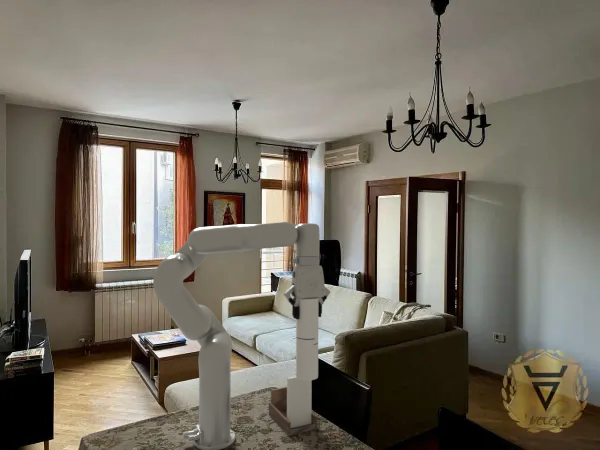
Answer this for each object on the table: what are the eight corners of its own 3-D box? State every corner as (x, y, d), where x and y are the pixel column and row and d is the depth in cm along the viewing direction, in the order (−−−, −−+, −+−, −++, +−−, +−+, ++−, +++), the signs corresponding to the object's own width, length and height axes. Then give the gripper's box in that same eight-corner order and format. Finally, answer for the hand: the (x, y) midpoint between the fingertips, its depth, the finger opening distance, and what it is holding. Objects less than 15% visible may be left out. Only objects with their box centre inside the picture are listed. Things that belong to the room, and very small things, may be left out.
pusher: (288, 428, 129) (288, 378, 130) (286, 427, 130) (287, 377, 131) (311, 423, 133) (311, 374, 133) (309, 422, 134) (309, 373, 134)
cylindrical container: (292, 374, 129) (292, 296, 130) (311, 371, 132) (312, 295, 133) (301, 381, 123) (302, 299, 123) (322, 378, 126) (322, 298, 126)
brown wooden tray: (288, 435, 127) (288, 408, 127) (268, 414, 141) (268, 390, 142) (317, 428, 131) (317, 402, 131) (295, 409, 146) (295, 385, 146)
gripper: (287, 263, 121) (287, 322, 121) (337, 262, 129) (336, 317, 128) (278, 261, 128) (277, 317, 127) (325, 260, 136) (325, 313, 135)
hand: (307, 317), depth 128 cm, fingers closed on cylindrical container, 7 cm apart
